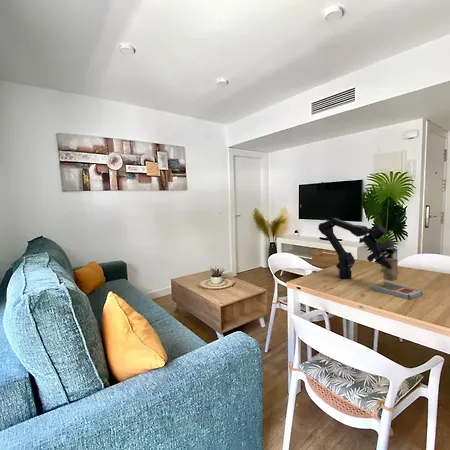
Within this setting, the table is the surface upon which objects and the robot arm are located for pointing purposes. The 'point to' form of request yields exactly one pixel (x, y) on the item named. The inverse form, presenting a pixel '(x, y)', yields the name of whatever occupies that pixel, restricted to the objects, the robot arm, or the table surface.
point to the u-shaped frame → (395, 293)
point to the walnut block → (391, 270)
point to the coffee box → (393, 257)
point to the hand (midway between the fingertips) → (393, 267)
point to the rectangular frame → (406, 291)
